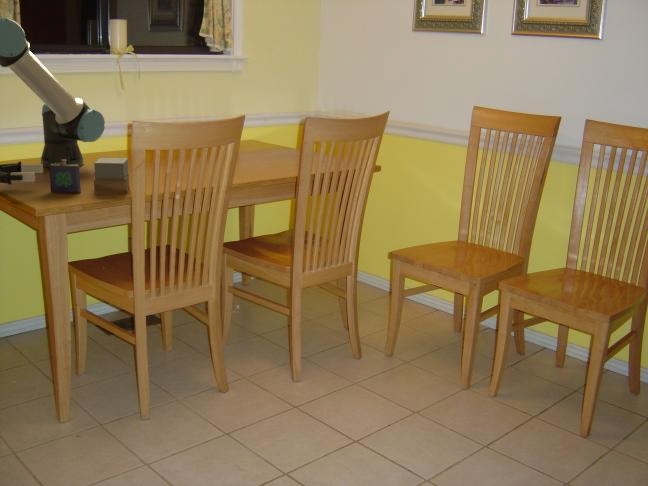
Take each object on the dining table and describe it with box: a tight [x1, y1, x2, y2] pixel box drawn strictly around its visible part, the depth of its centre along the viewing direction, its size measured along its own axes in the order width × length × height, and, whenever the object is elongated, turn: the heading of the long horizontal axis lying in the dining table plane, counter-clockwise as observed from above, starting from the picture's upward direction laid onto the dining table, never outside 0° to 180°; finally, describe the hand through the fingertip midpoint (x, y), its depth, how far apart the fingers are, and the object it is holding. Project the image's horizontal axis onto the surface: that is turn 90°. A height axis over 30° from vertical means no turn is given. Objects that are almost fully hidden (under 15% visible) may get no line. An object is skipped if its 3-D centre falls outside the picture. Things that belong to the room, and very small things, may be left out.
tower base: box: [93, 172, 130, 195], centre depth 245 cm, size 10×10×5 cm
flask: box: [48, 159, 82, 194], centre depth 239 cm, size 9×3×11 cm, turn 95°
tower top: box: [93, 157, 129, 179], centre depth 244 cm, size 9×9×5 cm
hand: (38, 172), depth 237 cm, fingers open, 13 cm apart
